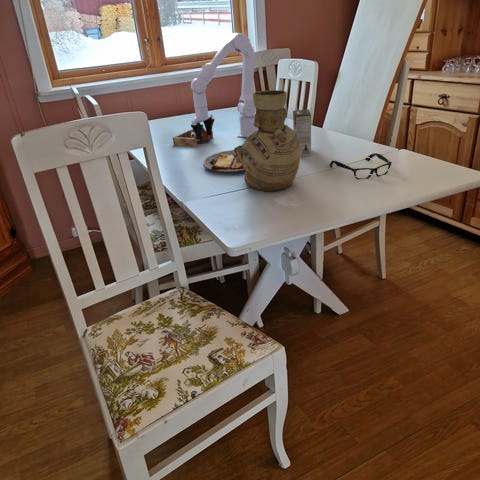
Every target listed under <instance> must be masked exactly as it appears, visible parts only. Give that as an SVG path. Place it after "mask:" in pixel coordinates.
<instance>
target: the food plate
mask: <svg viewBox="0 0 480 480" xmlns="http://www.w3.org/2000/svg"><path fill="white" fill-rule="evenodd" d="M202 166H203V168H205V169H207V170H209V171H213V172H224V173H226V172H227V173H237V172H242V171H245V169H244V168H243V164H242V161H241V163H237V162H236V153H235V152H234V149H231V150H223V151H220V152H215V153H213V154H211V155H209V156H207V157H206V158H205V160H204V162H203V163H202Z"/></svg>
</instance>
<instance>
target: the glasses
mask: <svg viewBox="0 0 480 480" xmlns="http://www.w3.org/2000/svg"><path fill="white" fill-rule="evenodd" d="M375 156H376V157H377V158H378V159H379V160H381V161H383V162H385V163H384V164H381V165H378V166H377V167H372V168H370V167H361V168H360V167H359V168H353V167H350V166H349V165H346V164H344V162H343V163H342V162H340V161H338V160H331V162H330V163H329V167H330V168H333V166H332V165H334V164H335V166H336V167H338V168H339V167H340V168H343V169H346V170H350V171H351V172H353V176H354V178H355V179H356V180H367V179H370V178H371V177H372V176H373V174H375V173H377V174H375V176H377V177H382V176H384V175H387V174H388V173H389V171H387V170H386V172H384V173H382V174H378V170H379V169H380V168H383V167H384V166H388V167H387V169H389V168H390V169H391V166H392V163H393V162H392V161H390V160H389V159H388V158H386V157H385V156H384V155H382V154H380V153H375V152H374V153H371V154H369V155H367V156H366V157H365V159H364V160H365V161H368V162H370V160H371V161H372V159H373V157H375ZM367 157H370V158H372V159H370V158H367ZM390 169H389V170H390ZM364 170H365V171H366V170H370V172H369V174H372V175H368V176H367V177H360V178H359V177H357V172H358V171H364ZM355 176H356V177H355Z"/></svg>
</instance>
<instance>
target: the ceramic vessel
mask: <svg viewBox="0 0 480 480" xmlns="http://www.w3.org/2000/svg"><path fill="white" fill-rule="evenodd" d="M287 97H288V93H287V91H285V90H275V89H272V90H271V89H269V90H267V89H266V90H260V91H255V92H254V91H253V101H254V105H255V108H256V112H255V116H254V124H253V125H254V126H255V127H258V131H254V132H253V134H251V135H250V136H249V137H246V139H244V142H243V143H242V144H241V145H237V146H236V147H234V148H233V150H234V152H235V153H236V162H237V163H241V161H242V164H243V168H244V169H245V170H244V171H245V174H244V178H243V180H244V183H245V184H246V186H248V187H249V188H252V189H255V190H258V191H260V192H261V191H262V192H266V193H267V192H268V193H273V192H279V191H283V190H285V189H288V188H289V187H291V185H292V184H293V183H294V181H295V178H296V177H297V174H298V170H299V168H300V167H299V166H300V162H301V156H300V146H299V141H298V137H297V135H296V133H295V132H294V130H293V128H291V127H290V126H288V125H287V124H285V121H286V119H287V114H288V113H287V110H286V108H285V107H286V102H287Z"/></svg>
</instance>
